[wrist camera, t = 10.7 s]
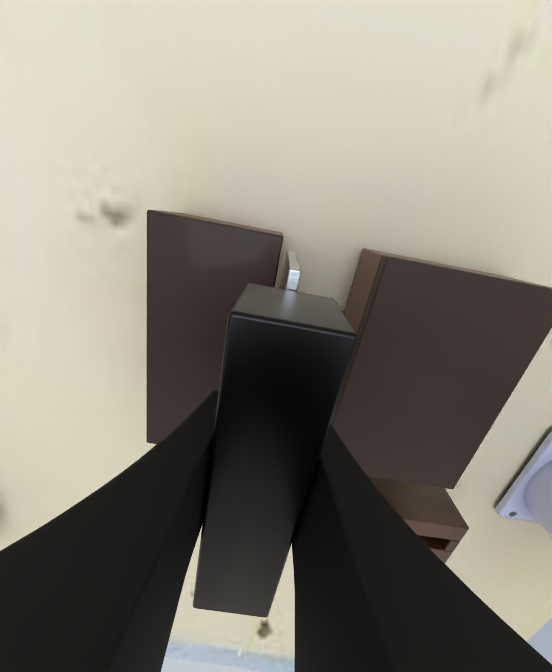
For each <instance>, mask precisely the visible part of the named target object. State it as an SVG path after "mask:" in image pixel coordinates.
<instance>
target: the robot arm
mask: <svg viewBox="0 0 552 672" xmlns="http://www.w3.org/2000/svg"><path fill="white" fill-rule="evenodd" d="M218 394H219V391H216V390H213V391H212V392H210V393H209V394H208V396H207V397H206V398H205V399H204V400H203V401H202V402H201V403H200V404H199V405H198V407H197V408H196V409H195V410H194V411H193V412H192V413H191V414H190V415H189V416H188V417H187V418H186V419H184V420H183V421H182V422H181V423H180V424H179V425H178V426H177V427H176V428H175V429H174V430H173V431H172V432H171V433H169V434H168V435H167V436H166V437H165V438H164V439H163V440H161V441H160V442H159V443H158V444H157V445H155V446H154V447H153V448H152V449H151V450H149V451H148V452H147V453H146V454H145V455H144V456H142V457H141V458H140V459H139V460H137V461H136V462H135V463H133V464H132V465H131V466H130V467H128V468H127V469H126V470H124V471H123V472H122V473H120V474H119V475H118V476H116V477H115V478H113V479H112V480H111V481H109V482H108V483H106V484H105V485H104V486H102V487H101V488H99V489H98V490H97V491H95V492H94V493H92V494H91V495H89V496H88V497H86V498H85V499H83V500H82V501H80V502H79V503H77V504H76V505H74V506H73V507H71V508H70V509H68V510H67V511H65V512H64V513H62V514H61V515H59V516H57V517H56V518H54V519H53V520H51V521H49V522H48V523H46V524H45V525H43V526H42V527H40V528H38V529H37V530H35V531H33V532H32V533H30V534H28V535H27V536H25V537H23V538H21V539H20V540H18V541H16V542H15V543H13V544H11V545H10V546H8V547H6V548H4V549H3V550H1V551H0V672H161V668H162V664H163V660H164V656H165V653H166V649H167V645H168V641H169V637H170V633H171V629H172V625H173V621H174V617H175V614H176V610H177V606H178V602H179V598H180V594H181V590H182V587H183V583H184V579H185V576H186V572H187V569H188V566H189V562H190V559H191V556H192V553H193V550H194V547H195V544H196V541H197V538H198V535H199V532H200V529H201V527H202V524H203V517H204V509H205V501H206V492H207V484H208V476H209V468H210V459H211V451H212V443H213V435H214V427H215V418H216V410H217V402H218ZM495 510H496V512H497V513H498V515H499V516H501V517H505V518H511V519H518V520H525V521H532V522H538V523H540V524H541V525H542V526H543V527H544V529H545V530H546V531H547V532H548V533H549V534H550V536H551V537H552V431H551V432H550V433H549V434H548V436H547V437H546V439H545V440H544V441H543V443H542V444H541V446H540V447H539V448H538V450H537V451H536V452H535V454H534V455H533V457H532V458H531V459H530V461H529V462H528V464H527V465H526V466H525V468H524V469H523V471H522V472H521V473H520V475H519V476H518V477H517V479H516V480H515V482H514V483H513V484H512V486H511V487H510V489H509V490H508V491H507V493H506V494H505V495H504V497H503V498H502V500H501V501H500V502H499V504H498V505H497V507H496V509H495ZM292 552H293V565H294V584H295V672H552V665H551V664H550V663H549V662H548V661H547V660H546V659H545V658H543V656H542V655H540V654H539V653H538V652H537V651H536V650H535V649H534V648H533V647H532V646H530V645H529V644H528V643H527V642H526V641H525V640H524V639H523V638H522V637H521V636H520V635H518V634H517V633H516V632H515V631H514V630H513V629H512V628H511V627H510V626H508V625H507V624H506V623H505V622H504V621H503V620H502V619H501V618H500V617H499V616H498V615H497V614H496V613H495V612H493V611H492V610H491V609H490V608H489V607H488V606H487V605H486V604H485V603H484V602H483V601H482V600H481V599H480V598H479V597H478V596H477V595H475V594H474V593H473V592H472V591H471V590H470V589H469V588H468V587H467V586H466V585H465V584H464V583H463V582H462V581H461V580H460V579H459V578H458V577H457V576H456V575H455V574H454V573H453V572H452V571H451V570H450V569H449V568H448V567H447V566H446V565H445V564H444V563H443V562H442V561H441V560H440V559H439V558H438V557H437V556H436V555H435V553H434V552H433V551H432V550H431V549H430V548H429V547H428V546H427V545H426V544H425V543H424V542H423V541H422V540H421V539H420V538H419V536H418V535H417V534H416V533H415V532H414V531H413V530H412V529H411V528H410V526H409V525H408V524H407V523H406V522H405V521H404V520H403V519H402V517H401V516H400V515H399V514H398V513H397V512H396V511H395V510H394V508H393V507H392V506H391V505H390V504H389V502H388V501H387V500H386V499H385V498H384V496H383V495H382V494H381V493H380V491H379V490H378V489H377V488H376V486H375V485H374V484H373V482H372V481H371V480H370V479H369V477H368V476H367V475H366V473H365V472H364V471H363V469H362V468H361V467H360V465H359V464H358V463H357V461H356V460H355V458H354V457H353V456H352V454H351V453H350V451H349V450H348V448H347V447H346V446H345V444H344V443H343V441H342V440H341V438H340V437H339V435H338V434H337V432H336V430H335V429H334V427H333V426H332V424H331V423H330V426H329V429H328V432H327V435H326V438H325V441H324V444H323V447H322V450H321V453H320V457H319V460H318V463H317V466H316V469H315V472H314V475H313V478H312V481H311V484H310V487H309V491H308V494H307V497H306V500H305V503H304V506H303V509H302V512H301V515H300V518H299V522H298V525H297V528H296V531H295V534H294V537H293V540H292Z"/></svg>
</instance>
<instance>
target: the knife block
mask: <svg viewBox="0 0 552 672" xmlns="http://www.w3.org/2000/svg"><path fill="white" fill-rule="evenodd" d="M368 477H369V476H368ZM369 479H370V480H371V481H372V482H373V484H374V485H375V486H376V488H377V489H378V490H379V491H380V493H381V494H382V495H383V496H384V498H385V499H386V500H387V501H388V502H389V504H390V505H391V506H392V507H393V508H394V510H395V511H396V512H397V513H398V514H399V515H400V516H401V517H402V519H403V520H404V521H405V522H406V523H407V524H408V525H409V526H410V528H411V529H412V530H413V531H414V532H415V533H416V534H417V535H418V536H419V538H420V539H421V540H422V541H423V542H424V543H425V544H426V545H427V546H428V547H429V548H430V549H431V550H432V551H433V552H434V553H435V555H436V556H437V557H438V558H439V559H440V560H441V561H442V562H443V563H446V561H447V560H448V558H449V557H450V555H451V554H452V552H453V551H454V550H455V548H456V547H457V545H458V544H459V542H460V541H461V539H462V538H463V536H464V535H465V534H466V532H467V531H468V529H469V527H468V526H467V524H466V522H465V521H464V519H463V517H462V516H461V514H460V513H459V511H458V509H457V508H456V506H455V504H454V503H453V501H452V499H451V498H450V496H449V495H448V493H447V491H446V490H445V488H441V487H435V486H428V485H422V484H415V483H409V482H402V481H396V480H389V479H382V478H376V477H369Z"/></svg>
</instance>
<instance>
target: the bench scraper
mask: <svg viewBox="0 0 552 672" xmlns="http://www.w3.org/2000/svg"><path fill="white" fill-rule="evenodd" d="M300 276H301V269H300V266H299V264H298V261H297V258H296V255H295V253H294V251H293V250H287V252H286V258H285V263H284V268H283V273H282V279H281V284H280V289H279V288H274V287H268V286H263V285H258V284H252V283H248V284H247V285H246V286H245V288H244V289H243V291H242V293H241V294H240V296H239V297H238V299H237V301H236V302H235V304H234V306H233V307H232V309H231V310H230V312H229V314H228V320H227V328H226V336H225V344H224V352H223V361H222V369H221V377H220V385H219V394H218V402H217V410H216V418H215V427H214V435H213V443H212V451H211V459H210V468H209V476H208V484H207V492H206V501H205V509H204V517H203V525H202V533H201V542H200V550H199V558H198V566H197V575H196V583H195V591H194V599H193V607H194V608H198V609H206V610H213V611H221V612H228V613H236V614H243V615H250V616H258V617H265V618H266V617H268V614H269V611H270V608H271V605H272V602H273V599H274V596H275V593H276V590H277V587H278V583H279V580H280V577H281V574H282V571H283V568H284V565H285V562H286V559H287V556H288V552H289V549H290V546H291V543H292V540H293V537H294V534H295V531H296V528H297V525H298V522H299V518H300V515H301V512H302V509H303V506H304V503H305V500H306V497H307V494H308V491H309V487H310V484H311V481H312V478H313V475H314V472H315V469H316V466H317V463H318V460H319V457H320V453H321V450H322V447H323V444H324V441H325V438H326V435H327V432H328V429H329V426H330V422H331V419H332V416H333V413H334V410H335V407H336V404H337V401H338V398H339V395H340V392H341V388H342V385H343V382H344V379H345V376H346V373H347V370H348V367H349V364H350V361H351V357H352V354H353V351H354V348H355V345H356V342H357V339H358V335H357V333H356V331H355V330H354V328H353V327H352V325H351V324H350V322H349V321H348V319H347V318H346V316H345V315H344V313H343V312H342V310H341V309H340V307H339V306H338V304H337V303H336V301H335V300H334V299H332V298H327V297H322V296H316V295H311V294H306V293H300V292H297V290H298V285H299V280H300Z"/></svg>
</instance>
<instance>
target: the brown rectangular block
mask: <svg viewBox="0 0 552 672" xmlns="http://www.w3.org/2000/svg"><path fill="white" fill-rule="evenodd" d="M282 241H283V233H280V232H275V231H270V230H265V229H260V228H255V227H250V226H244V225H239V224H234V223H229V222H224V221H219V220H214V219H209V218H204V217H199V216H194V215H188V214H183V213H176V212H166V211H155V210H148V211H147V443H153V444H158V443H159V442H160V441H161V440H163V439H164V438H165V437H166V436H167V435H168V434H169V433H171V432H172V431H173V430H174V429H175V428H176V427H177V426H178V425H179V424H180V423H181V422H182V421H183V420H184V419H186V418H187V417H188V416H189V415H190V414H191V413H192V412H193V411H194V410H195V409H196V408H197V407H198V405H199V404H200V403H201V402H202V401H203V400H204V399H205V398H206V397H207V396H208V394H209V393H210V392H212V391H213V390H216V391H219V385H220V377H221V369H222V361H223V352H224V344H225V336H226V328H227V320H228V314H229V312H230V310H231V309H232V307H233V306H234V304H235V302H236V301H237V299H238V297H239V296H240V294H241V293H242V291H243V289H244V288H245V286H246V285H247V284H248V283H252V284H258V285H263V286H268V287H274V285H275V280H276V274H277V269H278V263H279V258H280V252H281V247H282Z"/></svg>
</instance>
